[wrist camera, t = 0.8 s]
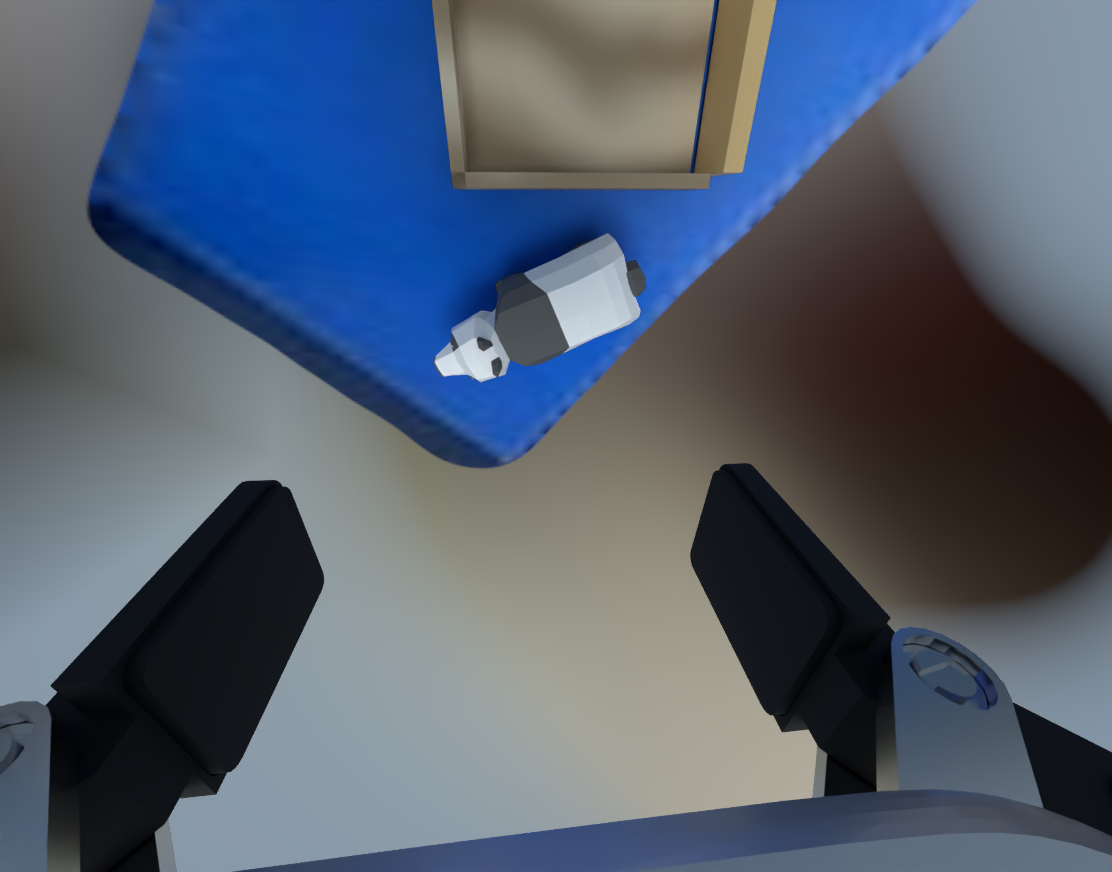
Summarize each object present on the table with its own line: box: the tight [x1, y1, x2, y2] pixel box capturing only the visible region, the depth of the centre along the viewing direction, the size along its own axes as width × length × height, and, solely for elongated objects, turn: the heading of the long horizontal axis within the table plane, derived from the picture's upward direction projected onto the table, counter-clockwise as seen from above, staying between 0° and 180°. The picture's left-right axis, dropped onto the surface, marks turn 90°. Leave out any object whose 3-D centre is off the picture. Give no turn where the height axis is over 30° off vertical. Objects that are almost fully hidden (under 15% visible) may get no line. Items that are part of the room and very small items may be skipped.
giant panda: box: [433, 233, 646, 382], centre depth 27 cm, size 15×6×10 cm, turn 113°
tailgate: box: [694, 0, 777, 176], centre depth 22 cm, size 14×1×4 cm, turn 0°
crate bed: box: [432, 0, 714, 190], centre depth 22 cm, size 16×16×4 cm
